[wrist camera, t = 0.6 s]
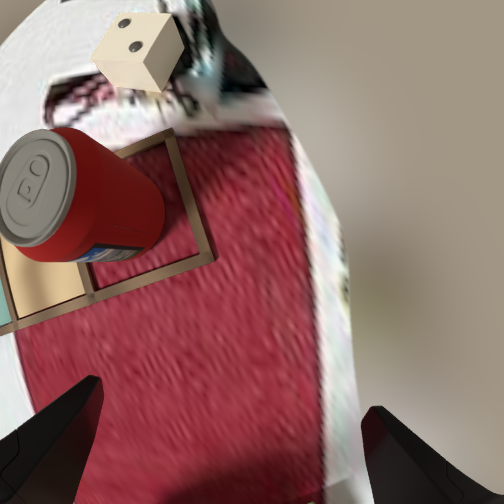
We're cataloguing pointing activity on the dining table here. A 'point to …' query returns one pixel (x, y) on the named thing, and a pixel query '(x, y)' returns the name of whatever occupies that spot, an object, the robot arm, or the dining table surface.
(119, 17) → the die
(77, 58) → the dining table surface
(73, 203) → the beverage can
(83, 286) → the brown frame
